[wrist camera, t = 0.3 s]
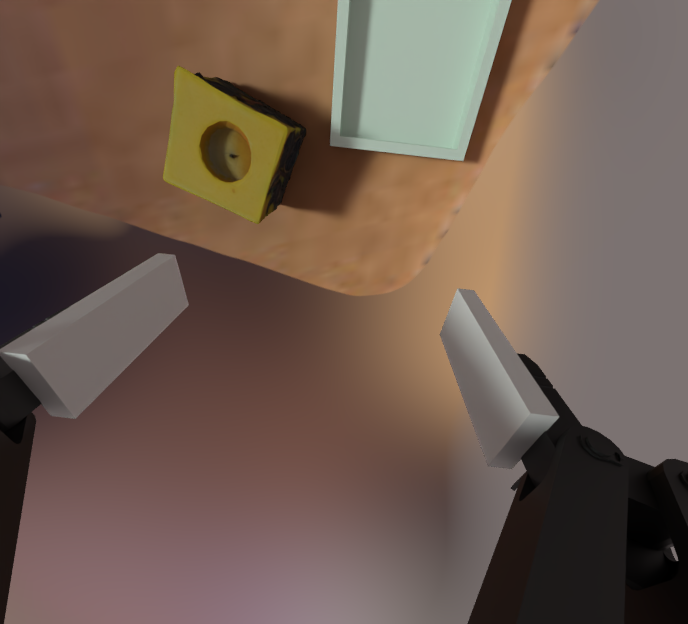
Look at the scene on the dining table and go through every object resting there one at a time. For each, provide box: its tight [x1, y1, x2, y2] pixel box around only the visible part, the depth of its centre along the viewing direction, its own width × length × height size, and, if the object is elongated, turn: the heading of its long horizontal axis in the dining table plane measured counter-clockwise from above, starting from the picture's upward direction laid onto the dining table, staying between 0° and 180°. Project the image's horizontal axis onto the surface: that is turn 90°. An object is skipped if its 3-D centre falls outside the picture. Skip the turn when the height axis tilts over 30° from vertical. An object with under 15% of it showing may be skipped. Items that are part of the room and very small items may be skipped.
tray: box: [330, 0, 512, 161], centre depth 27 cm, size 15×15×3 cm
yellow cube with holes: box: [163, 66, 306, 224], centre depth 29 cm, size 10×10×10 cm
